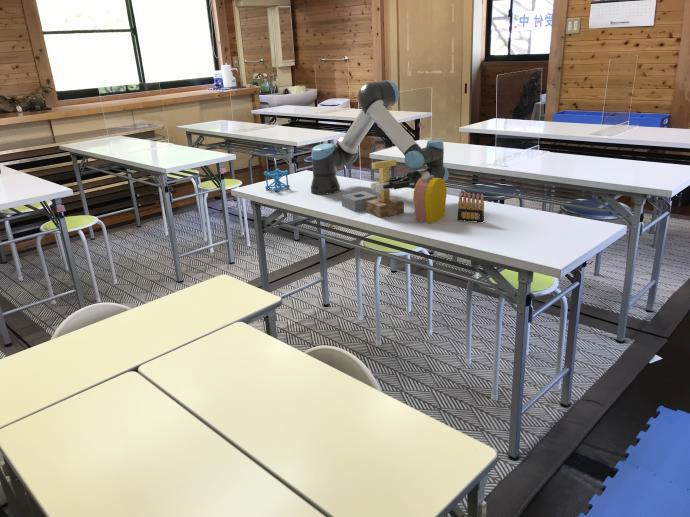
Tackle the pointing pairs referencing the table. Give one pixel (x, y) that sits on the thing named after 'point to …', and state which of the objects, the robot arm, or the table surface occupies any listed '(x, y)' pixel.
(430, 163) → the robot arm
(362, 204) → the block
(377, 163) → the t key
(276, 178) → the molecular structure
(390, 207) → the block
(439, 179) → the alarm clock
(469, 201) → the ammunition clip
